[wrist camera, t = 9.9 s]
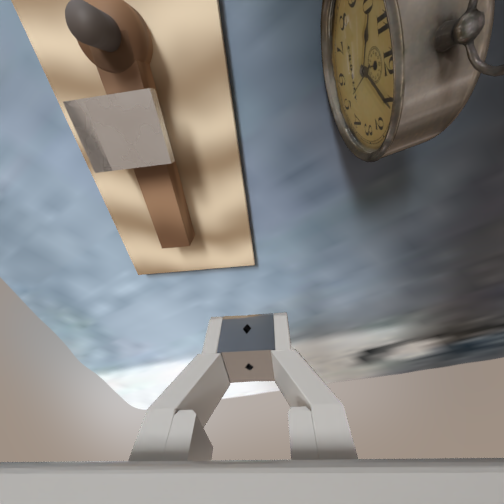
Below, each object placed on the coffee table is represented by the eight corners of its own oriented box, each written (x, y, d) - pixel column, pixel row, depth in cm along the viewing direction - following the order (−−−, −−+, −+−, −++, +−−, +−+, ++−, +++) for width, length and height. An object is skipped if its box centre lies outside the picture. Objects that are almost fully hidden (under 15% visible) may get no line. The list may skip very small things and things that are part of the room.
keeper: (98, 101, 21) (62, 101, 17) (170, 90, 20) (149, 88, 17) (121, 161, 23) (95, 173, 20) (185, 153, 23) (171, 163, 19)
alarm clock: (306, 2, 18) (455, -322, 4) (381, -36, 17) (909, -639, 3) (333, 148, 23) (438, 214, 10) (392, 127, 22) (606, 166, 8)
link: (83, 6, 17) (26, -25, 13) (141, -5, 17) (101, -40, 13) (163, 237, 27) (146, 262, 23) (201, 234, 27) (190, 258, 23)
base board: (19, -7, 18) (5, -14, 17) (211, -46, 17) (208, -56, 16) (142, 269, 32) (138, 274, 31) (254, 259, 30) (254, 265, 29)
